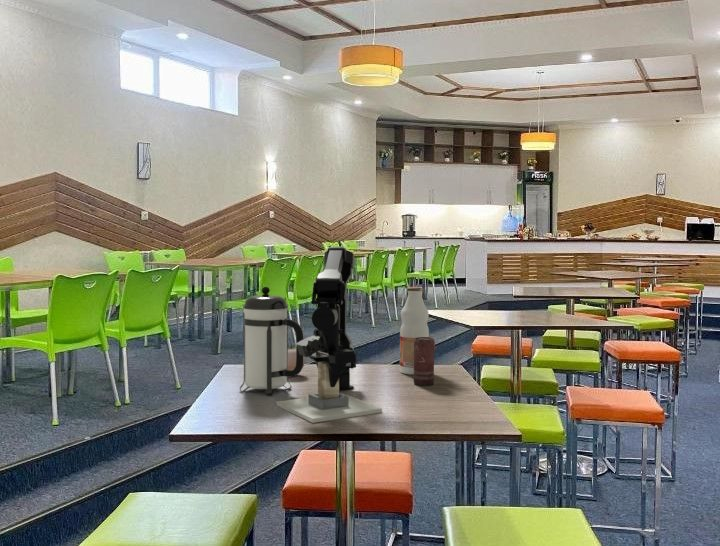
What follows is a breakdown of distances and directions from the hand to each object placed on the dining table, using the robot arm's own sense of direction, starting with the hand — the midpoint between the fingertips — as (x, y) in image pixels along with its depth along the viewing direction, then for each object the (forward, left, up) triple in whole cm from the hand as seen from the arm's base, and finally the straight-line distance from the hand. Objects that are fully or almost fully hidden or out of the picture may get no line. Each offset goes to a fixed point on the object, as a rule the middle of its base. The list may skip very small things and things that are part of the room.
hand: (328, 385), depth 183 cm
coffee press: (-27, -4, -6) cm, 28 cm away
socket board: (0, 0, -6) cm, 6 cm away
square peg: (0, 0, -3) cm, 3 cm away
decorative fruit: (-43, +11, -6) cm, 45 cm away
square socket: (0, 0, -6) cm, 6 cm away
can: (-12, +40, -6) cm, 42 cm away
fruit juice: (-28, +48, -6) cm, 56 cm away
